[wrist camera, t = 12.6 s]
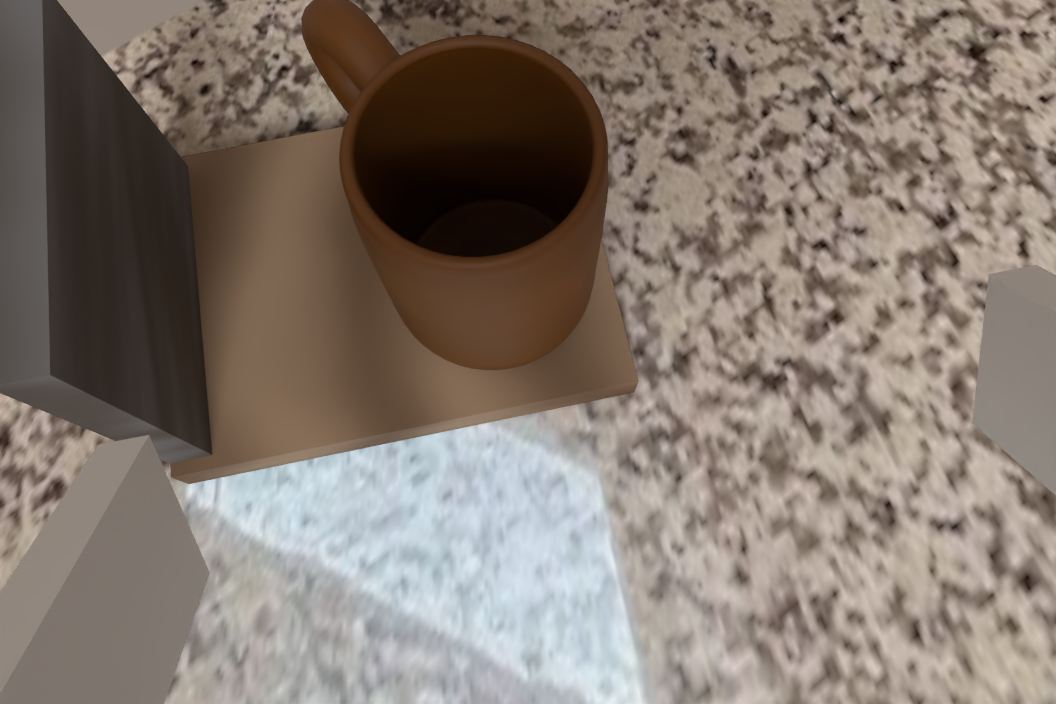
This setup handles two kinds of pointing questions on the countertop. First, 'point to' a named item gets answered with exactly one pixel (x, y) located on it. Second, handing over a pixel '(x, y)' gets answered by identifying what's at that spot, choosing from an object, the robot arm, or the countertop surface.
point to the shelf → (219, 286)
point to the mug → (468, 183)
